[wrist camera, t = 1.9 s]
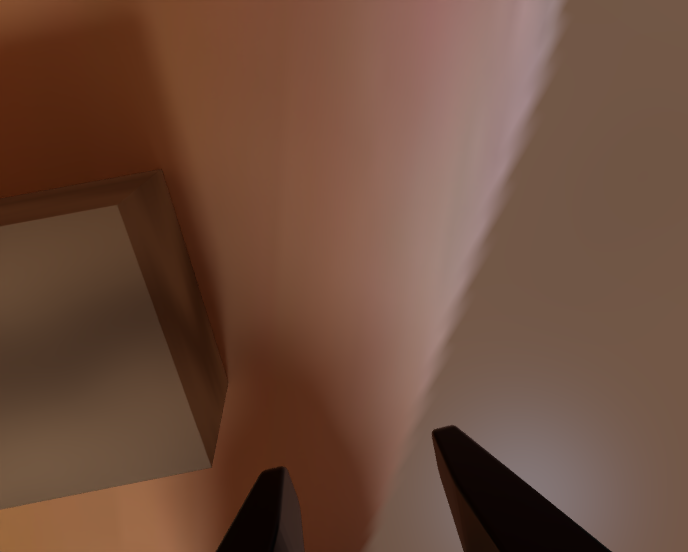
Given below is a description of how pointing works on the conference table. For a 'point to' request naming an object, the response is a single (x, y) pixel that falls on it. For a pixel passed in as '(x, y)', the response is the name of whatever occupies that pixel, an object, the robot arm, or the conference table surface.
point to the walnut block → (101, 342)
